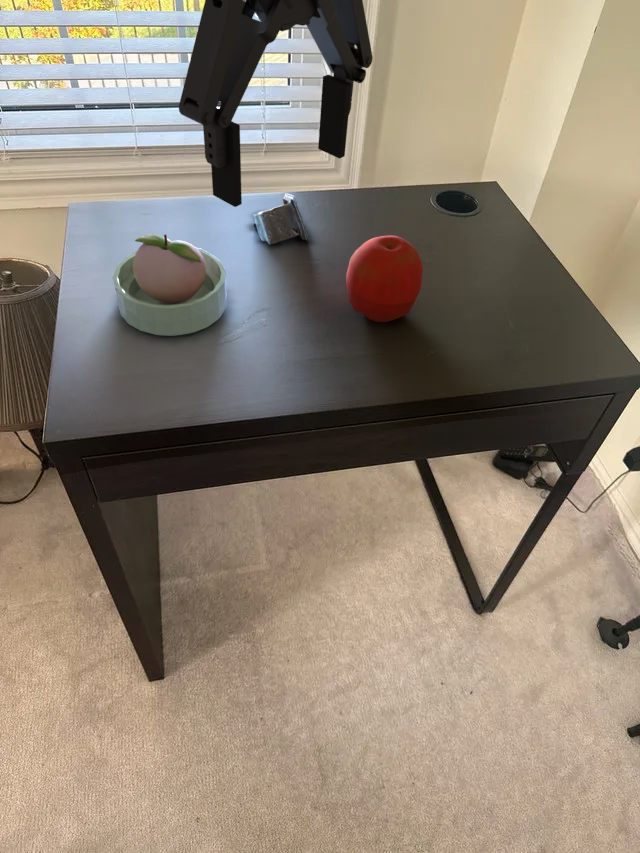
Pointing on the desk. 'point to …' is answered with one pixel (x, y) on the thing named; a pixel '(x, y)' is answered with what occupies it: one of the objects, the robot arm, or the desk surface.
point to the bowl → (171, 315)
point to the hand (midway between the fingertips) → (282, 175)
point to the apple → (384, 278)
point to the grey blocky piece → (280, 222)
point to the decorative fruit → (168, 268)
